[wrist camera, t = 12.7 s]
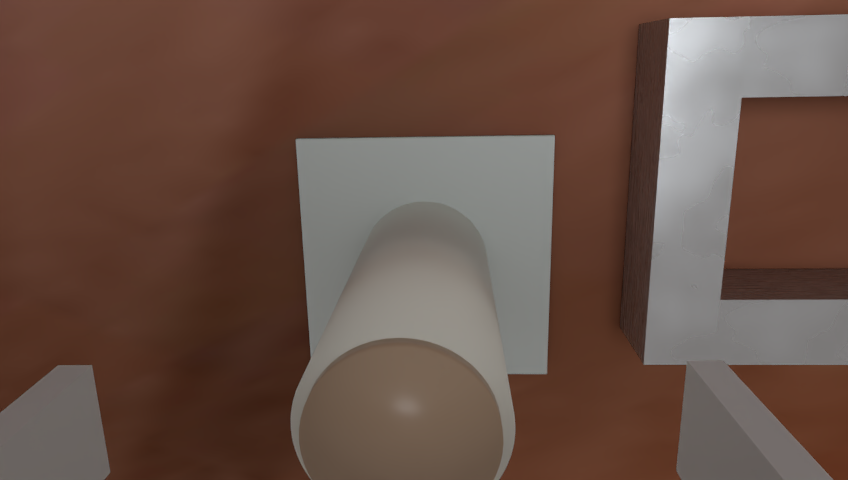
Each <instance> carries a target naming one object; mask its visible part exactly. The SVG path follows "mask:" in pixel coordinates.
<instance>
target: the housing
mask: <svg viewBox="0 0 848 480" xmlns="http://www.w3.org/2000/svg"><path fill="white" fill-rule="evenodd" d="M806 96H848V14H846V15H800V16H754V17H709V18H669V19H664V20H659V21H654V22H649V23H643V24H639V37H638V52H637V68H636V83H635V99H634V115H633V130H632V146H631V161H630V177H629V193H628V208H627V224H626V239H625V255H624V270H623V286H622V302H621V317H620V328H621V330H622V331H623V333H624V334H625V336H626V338H627V339H628V341H629V342H630V344H631V346H632V347H633V349H634V350H635V352H636V353H637V355H638V357H639V358H640V360H641V361H642V363H643V364H644V365H687V361H705V360H723V361H724V362H725V363H726V364H727V365H848V269H724V259H725V250H726V240H727V231H728V222H729V212H730V203H731V193H732V184H733V174H734V165H735V156H736V146H737V137H738V127H739V118H740V108H741V99H742V98H746V97H806Z"/></svg>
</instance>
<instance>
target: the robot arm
mask: <svg viewBox="0 0 848 480" xmlns="http://www.w3.org/2000/svg"><path fill="white" fill-rule="evenodd" d="M676 471H677V473H678V474H679V476H680V478H681V480H833V479H832V478H831V477H830V476H829V475H828V474H827V472H826V471H825V470H824V469H823V468H822V467H821V466H820V465H819V464H818V463H817V462H816V461H815V459H814V458H813V457H812V456H811V455H810V454H809V453H808V452H807V451H806V450H805V449H804V448H803V446H802V445H801V444H800V443H799V442H798V441H797V440H796V439H795V438H794V437H793V436H792V435H791V434H790V432H789V431H788V430H787V429H786V428H785V427H784V426H783V425H782V424H781V423H780V422H779V421H778V419H777V418H776V417H775V416H774V415H773V414H772V413H771V412H770V411H769V410H768V409H767V408H766V407H765V405H764V404H763V403H762V402H761V401H760V400H759V399H758V398H757V397H756V396H755V395H754V394H753V392H752V391H751V390H750V389H749V388H748V387H747V386H746V385H745V384H744V383H743V382H742V381H741V380H740V378H739V377H738V376H737V375H736V374H735V373H734V372H733V371H732V370H731V369H730V368H729V367H728V365H727V364H726V363H725V362H724V361H723V360H705V361H687V367H686V377H685V387H684V397H683V408H682V418H681V428H680V438H679V448H678V458H677V468H676ZM109 473H110V467H109V461H108V455H107V450H106V444H105V438H104V432H103V426H102V421H101V415H100V409H99V403H98V397H97V392H96V386H95V380H94V374H93V368H92V365H58V366H57V367H55V368H54V369H53V370H52V371H50V372H49V373H48V374H47V375H46V376H44V377H43V378H42V379H41V380H39V381H38V382H37V383H36V384H35V385H33V386H32V387H31V388H30V389H28V390H27V391H26V392H25V393H24V394H22V395H21V396H20V397H19V398H18V399H16V400H15V401H14V402H13V403H11V404H10V405H9V406H8V407H7V408H5V409H4V410H3V411H2V412H0V480H105V478H106V477H107V476H108V475H109Z"/></svg>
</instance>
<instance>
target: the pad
mask: <svg viewBox="0 0 848 480" xmlns="http://www.w3.org/2000/svg"><path fill="white" fill-rule="evenodd" d="M554 146H555V135H502V136H432V137H363V138H297V139H296V152H297V166H298V180H299V195H300V209H301V223H302V238H303V252H304V267H305V281H306V295H307V310H308V324H309V338H310V353H311V357H312V355H313V353H314V351H315V349H316V347H317V345H318V343H319V340H320V338H321V336H322V334H323V332H324V330H325V328H326V326H327V323H328V321H329V319H330V317H331V315H332V313H333V311H334V309H335V307H336V304H337V302H338V300H339V298H340V296H341V294H342V292H343V290H344V288H345V285H346V283H347V281H348V279H349V277H350V275H351V273H352V271H353V268H354V266H355V264H356V262H357V260H358V258H359V256H360V254H361V252H362V249H363V247H364V245H365V243H366V241H367V239H368V237H369V235H370V233H371V231H372V229H373V228H374V226H375V225H376V224H377V223H378V221H379V220H380V219H381V218H383V217H384V216H385V215H386V214H387V213H389V212H390V211H392V210H393V209H395V208H397V207H399V206H402V205H405V204H408V203H413V202H423V201H425V202H436V203H441V204H444V205H447V206H449V207H451V208H454V209H456V210H457V211H459V212H460V213H462V214H463V215H464V216H466V217H467V218H468V219H469V220H470V221H471V222H472V223H473V224H474V226H475V227H476V229H477V230H478V231H479V233H480V235H481V237H482V240H483V242H484V245H485V250H486V255H487V260H488V266H489V272H490V278H491V283H492V289H493V295H494V301H495V306H496V312H497V318H498V324H499V329H500V335H501V341H502V346H503V352H504V358H505V364H506V369H507V374H547V355H548V325H549V295H550V265H551V235H552V205H553V176H554Z"/></svg>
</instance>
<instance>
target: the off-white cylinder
mask: <svg viewBox="0 0 848 480" xmlns="http://www.w3.org/2000/svg"><path fill="white" fill-rule="evenodd" d="M291 434H292V440H293V444H294V447H295V451H296V454H297V456H298V458H299V461H300V463H301V465H302V467H303V468H304V470H305V472H306V473H307V475H308V476H309V478H310V479H311V480H499V479H500V478H501V476H502V474H503V472H504V471H505V469H506V467H507V465H508V462H509V460H510V457H511V454H512V450H513V446H514V440H515V415H514V410H513V404H512V398H511V392H510V387H509V381H508V375H507V369H506V364H505V358H504V352H503V346H502V341H501V335H500V329H499V324H498V318H497V312H496V306H495V301H494V295H493V289H492V283H491V278H490V272H489V266H488V260H487V255H486V250H485V245H484V242H483V240H482V237H481V235H480V233H479V231H478V230H477V229H476V227H475V226H474V224H473V223H472V222H471V221H470V220H469V219H468V218H467V217H466V216H464V215H463V214H462V213H460V212H459V211H457V210H456V209H454V208H451V207H449V206H447V205H444V204H441V203H436V202H425V201H423V202H413V203H408V204H405V205H402V206H399V207H397V208H395V209H393V210H392V211H390V212H389V213H387V214H386V215H385V216H384V217H383V218H381V219H380V220H379V221H378V223H377V224H376V225H375V226H374V228H373V229H372V231H371V233H370V235H369V237H368V239H367V241H366V243H365V245H364V247H363V249H362V252H361V254H360V256H359V258H358V260H357V262H356V264H355V266H354V268H353V271H352V273H351V275H350V277H349V279H348V281H347V283H346V285H345V288H344V290H343V292H342V294H341V296H340V298H339V300H338V302H337V304H336V307H335V309H334V311H333V313H332V315H331V317H330V319H329V321H328V323H327V326H326V328H325V330H324V332H323V334H322V336H321V338H320V340H319V343H318V345H317V347H316V349H315V351H314V353H313V355H312V357H311V359H310V362H309V364H308V366H307V368H306V370H305V372H304V374H303V376H302V379H301V381H300V383H299V385H298V387H297V389H296V392H295V396H294V399H293V402H292V409H291Z"/></svg>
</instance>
